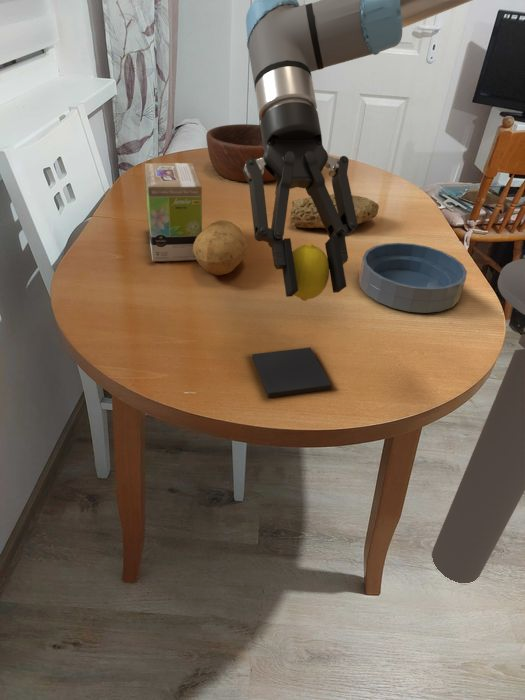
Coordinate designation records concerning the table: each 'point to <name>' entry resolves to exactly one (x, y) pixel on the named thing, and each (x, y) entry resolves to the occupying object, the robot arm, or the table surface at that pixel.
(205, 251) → the potato
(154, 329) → the table surface
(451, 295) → the basin
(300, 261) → the lemon
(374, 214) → the sponge
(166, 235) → the tea box
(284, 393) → the mat
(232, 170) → the wooden bowl
